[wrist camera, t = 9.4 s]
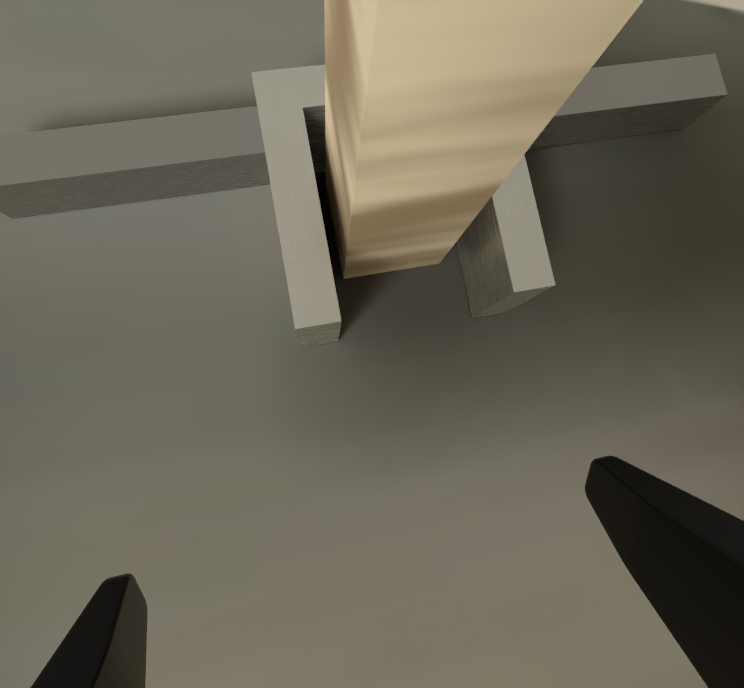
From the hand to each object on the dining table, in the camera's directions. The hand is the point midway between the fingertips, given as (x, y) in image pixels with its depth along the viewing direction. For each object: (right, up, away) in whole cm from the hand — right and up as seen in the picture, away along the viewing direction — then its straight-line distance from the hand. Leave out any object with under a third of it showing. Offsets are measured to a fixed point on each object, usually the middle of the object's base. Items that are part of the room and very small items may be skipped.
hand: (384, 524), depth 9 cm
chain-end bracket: (+1, +7, +10) cm, 13 cm away
